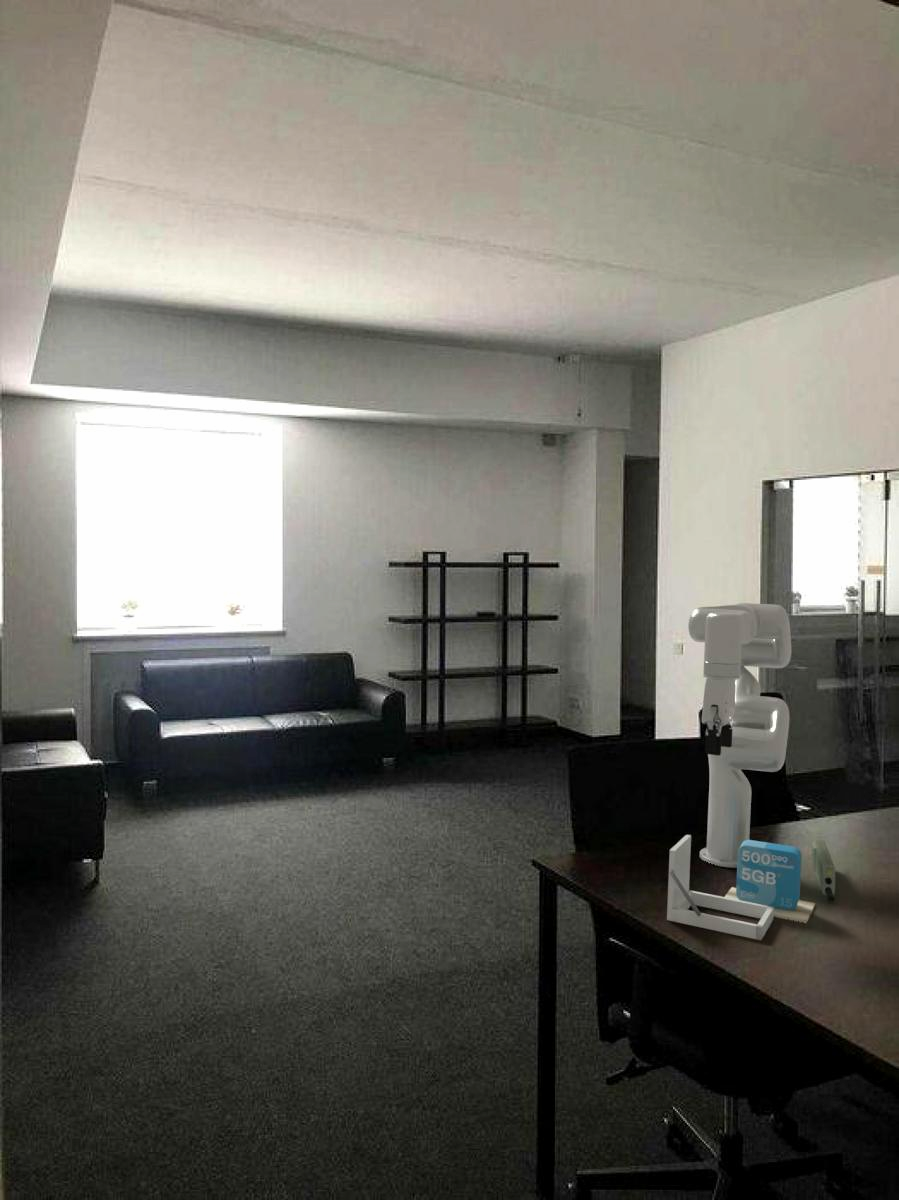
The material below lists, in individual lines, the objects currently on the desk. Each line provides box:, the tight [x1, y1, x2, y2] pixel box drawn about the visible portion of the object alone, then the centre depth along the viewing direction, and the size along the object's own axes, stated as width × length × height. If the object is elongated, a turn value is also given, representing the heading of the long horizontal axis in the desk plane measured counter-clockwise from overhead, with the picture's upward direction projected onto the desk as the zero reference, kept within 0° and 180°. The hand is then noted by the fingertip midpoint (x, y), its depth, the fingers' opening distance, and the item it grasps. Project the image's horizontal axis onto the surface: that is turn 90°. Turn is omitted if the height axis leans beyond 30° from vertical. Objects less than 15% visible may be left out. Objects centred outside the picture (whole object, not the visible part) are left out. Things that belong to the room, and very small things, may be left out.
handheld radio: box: [811, 838, 836, 903], centre depth 212 cm, size 7×3×25 cm
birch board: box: [724, 886, 816, 924], centre depth 198 cm, size 11×17×1 cm, turn 61°
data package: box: [735, 839, 802, 910], centre depth 198 cm, size 12×4×12 cm, turn 64°
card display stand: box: [666, 834, 774, 941], centre depth 189 cm, size 13×18×14 cm
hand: (718, 750), depth 205 cm, fingers open, 9 cm apart
